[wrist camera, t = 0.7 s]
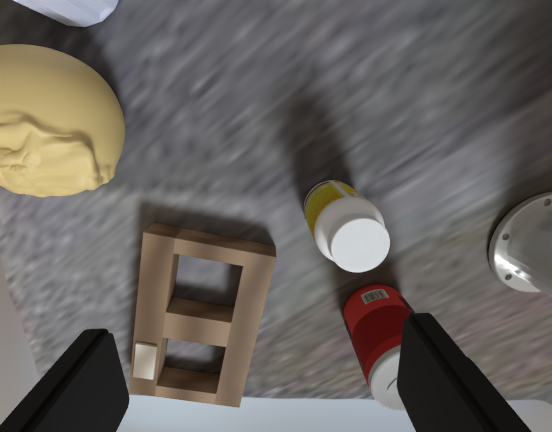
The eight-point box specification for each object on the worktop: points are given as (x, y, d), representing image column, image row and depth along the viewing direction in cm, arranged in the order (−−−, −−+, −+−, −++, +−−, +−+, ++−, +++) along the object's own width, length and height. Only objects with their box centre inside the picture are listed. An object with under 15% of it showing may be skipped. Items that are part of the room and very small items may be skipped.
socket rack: (275, 245, 34) (276, 258, 31) (240, 387, 41) (239, 409, 38) (153, 222, 33) (142, 233, 30) (138, 373, 40) (127, 394, 37)
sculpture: (33, 179, 31) (-80, 209, 21) (9, 52, 27) (-143, 13, 17) (143, 186, 32) (86, 218, 22) (134, 62, 28) (60, 31, 18)
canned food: (329, 317, 38) (353, 393, 28) (367, 270, 36) (409, 332, 26) (375, 342, 39) (415, 423, 29) (414, 298, 37) (472, 368, 27)
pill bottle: (304, 234, 34) (321, 285, 24) (301, 181, 32) (318, 212, 22) (357, 229, 34) (398, 278, 24) (357, 176, 32) (402, 204, 22)
